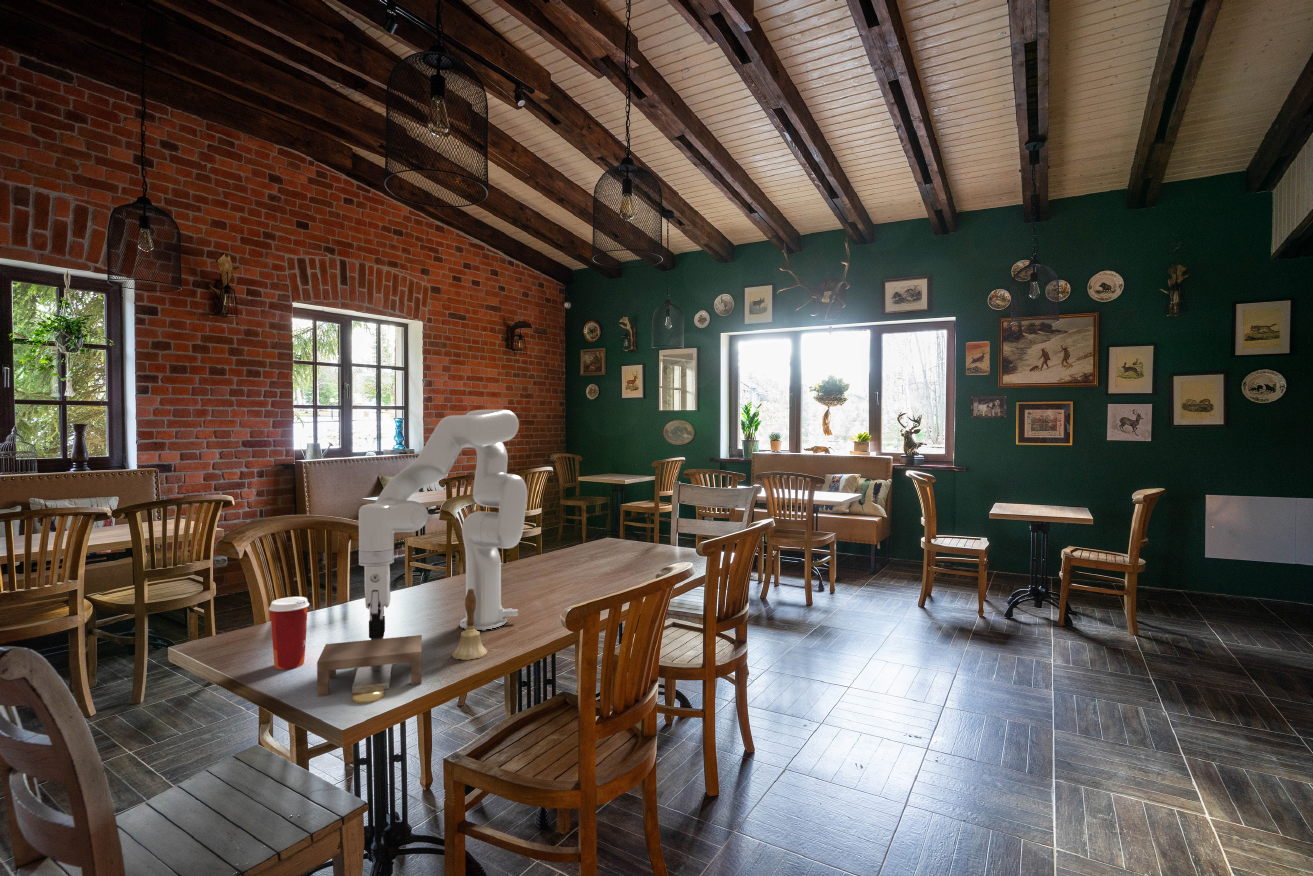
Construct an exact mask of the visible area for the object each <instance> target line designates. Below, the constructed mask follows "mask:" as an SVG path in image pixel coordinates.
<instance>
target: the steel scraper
mask: <svg viewBox="0 0 1313 876" xmlns="http://www.w3.org/2000/svg"><path fill="white" fill-rule="evenodd" d="M378 597H379V595H378ZM378 606H381V604H379V605H378ZM378 611H380V610H378ZM374 639H384V637H380V638H370V640H374ZM393 666H394V664H387V665H378V666H368V667H359V668H357V670H356V673H355V676H354V679H353V680H354V681H353V683H352V686H351V691H352V692H351V693H353V692H354V691H355V690H357V689H360V688H363V687H368V686H380V687H383V688H384V690H387V689H388V690H389V689H390V683H391V678H392V671H393Z"/></svg>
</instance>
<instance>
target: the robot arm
mask: <svg viewBox="0 0 1313 876" xmlns="http://www.w3.org/2000/svg"><path fill="white" fill-rule="evenodd" d="M519 423H520V422H519V419H518V417H517V415H516V414H515V413H514V412H512V411H511V410H510V409H509V410H508V409H477V410H471V411H468V412H467V413H466V414H463V415H462V414H461V415H458V414H457V415H447V416H445V417H444V418H442V419H441V420H440V421H439V422H438V424H437V425H436V427H435V429H434V430H433V432H432V433H431V434H430V437H429V438H428V439H427V441H426V444H425V445H424V447H423V448H422V449H421V451H420V453H419V455H418V456H417V457H416V459H415V460H414V461H412V462H411V463H410V464H408V465H406V467H404V468H403V469H402V470H401V471H399V472H398V473H397V474H395V475H394V477H392V478H391V479H390V480H389V481H388V482H387V484H386V485H385V486H384V488H383V489H382V490H381V492H380V494H379V495H378V497H377V499H376V500H375V502H374V503H367V504H363V505H361V506H360V508H359V510H358V566H362V567H364V601H365V608H366V609H367V610H369V620H368V638H369V639H371V638H380V637H383V638H385V637H384V636H385V631H386V615H385V609H386V608H388V607H389V606H390V603H391V571H390V570H391V568H390V565H391V564H393V563H395V551H394V549H395V542H394V541H395V538H394V537H395V533H411V532H417V531H419V530H421V529H422V528H423V527H424V526H425V525H426V524H427V522H428V519H429V512H428V509H427V507H426V506H425V505H424V504H423V503H421V502H419V501H417V500H416V501H415V500H410V497H412V496H413V494H415V493H416V492H417V491H419V490H420V489H422V488H424V487H427V486H429V485H431V484H435V483H436V482H438V481H441V480H442V479H444V478H445V477H447V476H448V474H450V473H449V472H450V471H451V469H452V467H453V465H454V464H455V462H456V460H457V459H458V457H459V455H460V453H461V452H462V450H463V449H464V448H469V449H470V448H474V449H475V451H476V452H475V453H476V466H475V474H474V480H473V487H472V499H473V500H474V503H476V504H477V505H479V506H482V507H487V508H497V509H498V512H496V511H483V510H482V511H480V510H479V511H475V512H472V513H469V514H468V515H467V516H466V517H465V519H464V520H463V522H462V525H461V526H462V527H461V535H462V541H463V544H464V545H463V546H464V550H465V596H466V595H467V592H468V589H474V593H475V596H476V608H475V612H474V629H475V630H482V631H487V630H486V629H491V630H493V629H492V628H496V627H499V626H502V625H504V624H505V623H506V622H507V619H508V618H507V617H518V616H519V610H518V608H515V609H514V608H509V607H508V608H504V607H503V606H502V561H501V559H502V558H501V555H500V552H499V549H513V548H514V547H516V546H517V545H518V544H519V543H520V541H521V538H522V536H523V532H524V526H525V520H526V519H525V518H526V517H525V516H526V511H527V505H528V504H527V503H528V489H527V488H528V487H527V484H526V481H525V480H524V479H523V478H522V477H521V476H520V475H517V474H514V473H507V472H508V460H509V459H508V458H509V457H508V451H507V448H506V447H505V445H504V442H508V441H510V440H511V439H514V438H515V436H516V435H517V434H518V431H519V426H520V424H519ZM378 595H379V597H378ZM379 604H381V606H378V605H379ZM378 610H380V611H378ZM506 624H507V623H506ZM506 624H505V625H506ZM505 625H504V626H505ZM459 626H460V628H461V629H463V628H464V630H466V629H467V612H466V611H465V617H464V618H463V619H461V620H460V622H459ZM502 627H503V626H502ZM499 628H500V627H499ZM496 629H497V628H496Z"/></svg>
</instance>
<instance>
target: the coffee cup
mask: <svg viewBox="0 0 1313 876" xmlns="http://www.w3.org/2000/svg"><path fill="white" fill-rule="evenodd" d="M309 606H310V603H309V601H308V598H307V597H306V596H305V597H304V596H289V597H282V598H277V599H275V600H272V601H271V603H270V606H269V607H268V611H270V621H271V623H270V625H271V636H272V637H271V638H272V652H273V664H274V668H275V670H278V671H279V670H282V671H283V670H284V671H285V670H291V669H297V668H299V667H302V666H303V665H304V664H305V657H306V656H305V655H306V640H307V627H308V625H307V624H308V611H309V609H308V608H309Z"/></svg>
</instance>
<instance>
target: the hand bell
mask: <svg viewBox="0 0 1313 876" xmlns="http://www.w3.org/2000/svg"><path fill="white" fill-rule="evenodd" d="M464 606H465V613H466V612H467V629H464V630H463V631H462V632H461V633H460V638H459V642H458V645H457V648H456V649H455V650H454V651H453V652H452V655H451V656H452V658H453V659H455V660H458V659H461V660H460V661H471V660H470V659H474V660H476V659H475V658H479V657H480V656H483V655H484V654H486V653H487V652H488V650H487V648H485V647H484V646H483V643H482V640H481V639H482V638H481V633H480V632H481V631H477V630H475V629H474V612H475V608H476V596H475V593H474V589H468V592H467V595H466V594H465V601H464ZM479 659H480V658H479Z"/></svg>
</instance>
